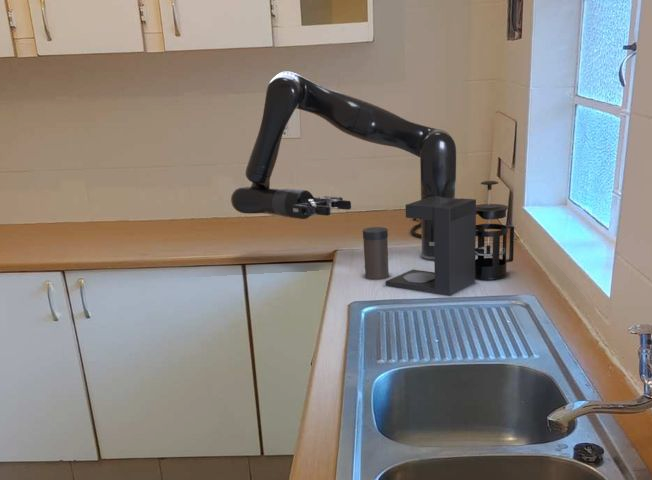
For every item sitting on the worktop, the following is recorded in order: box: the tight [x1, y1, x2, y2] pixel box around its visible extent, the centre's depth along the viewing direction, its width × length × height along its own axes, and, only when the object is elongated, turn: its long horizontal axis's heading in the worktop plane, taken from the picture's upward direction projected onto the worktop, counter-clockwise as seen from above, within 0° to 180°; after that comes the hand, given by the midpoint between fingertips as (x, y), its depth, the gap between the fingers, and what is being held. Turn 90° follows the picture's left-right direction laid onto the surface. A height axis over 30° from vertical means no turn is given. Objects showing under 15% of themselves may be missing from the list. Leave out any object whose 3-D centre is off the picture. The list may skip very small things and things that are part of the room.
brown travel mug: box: [362, 226, 390, 280], centre depth 190 cm, size 6×6×12 cm
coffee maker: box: [385, 197, 477, 297], centre depth 179 cm, size 18×12×20 cm, turn 52°
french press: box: [475, 180, 515, 281], centre depth 183 cm, size 12×9×23 cm
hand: (340, 208), depth 192 cm, fingers open, 8 cm apart
